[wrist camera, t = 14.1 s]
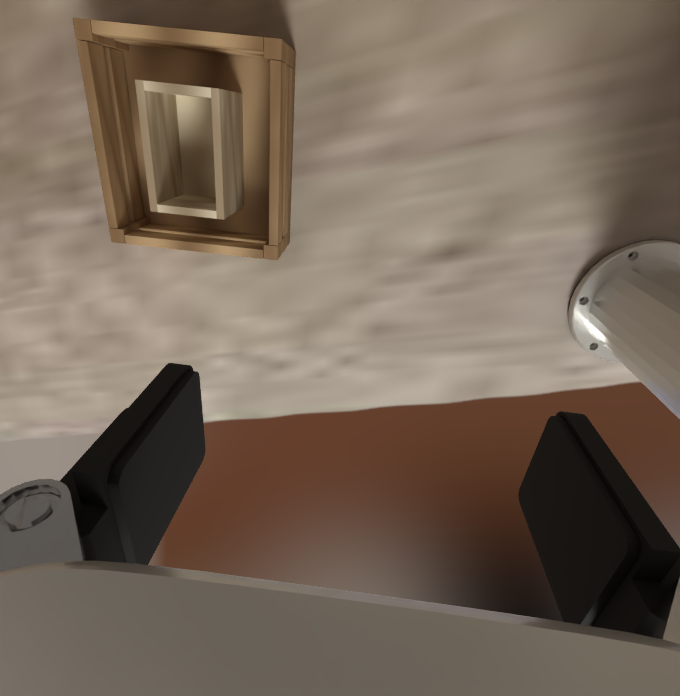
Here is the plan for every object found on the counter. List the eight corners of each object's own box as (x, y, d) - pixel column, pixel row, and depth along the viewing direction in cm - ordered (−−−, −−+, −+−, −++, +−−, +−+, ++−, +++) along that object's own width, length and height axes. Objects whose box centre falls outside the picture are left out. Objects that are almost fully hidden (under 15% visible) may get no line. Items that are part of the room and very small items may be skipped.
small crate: (242, 93, 34) (219, 88, 29) (244, 206, 39) (224, 219, 34) (170, 85, 35) (134, 79, 29) (180, 199, 39) (150, 211, 34)
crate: (295, 51, 34) (281, 38, 28) (289, 242, 41) (277, 260, 36) (119, 34, 34) (72, 17, 29) (144, 226, 41) (111, 242, 36)
